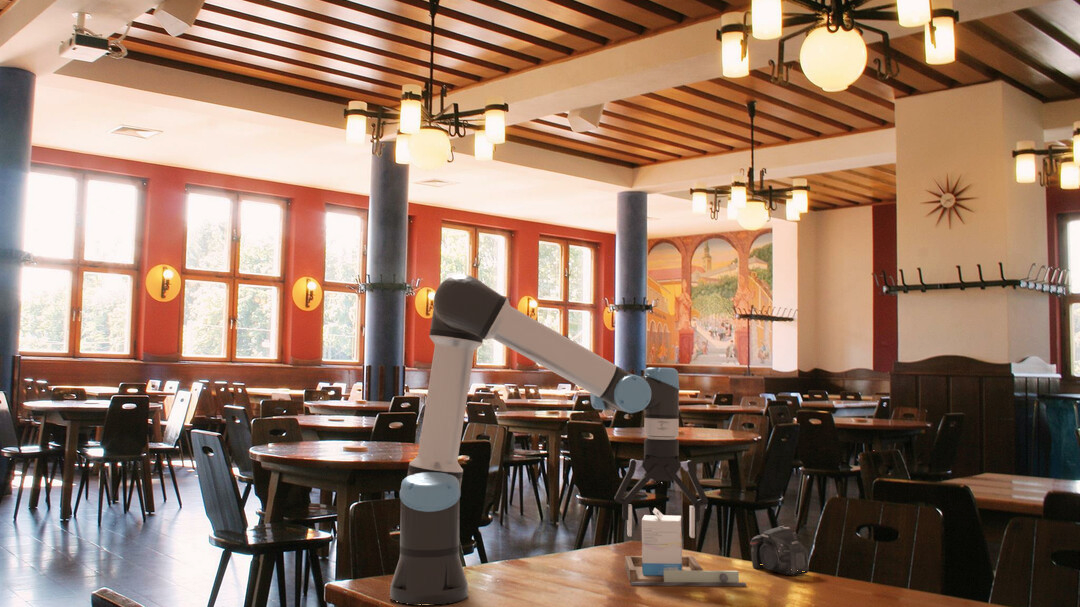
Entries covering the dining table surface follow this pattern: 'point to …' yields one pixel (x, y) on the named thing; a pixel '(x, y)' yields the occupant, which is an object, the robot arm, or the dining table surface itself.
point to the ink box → (661, 543)
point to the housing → (638, 579)
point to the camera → (779, 552)
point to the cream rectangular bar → (701, 576)
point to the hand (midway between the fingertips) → (660, 536)
